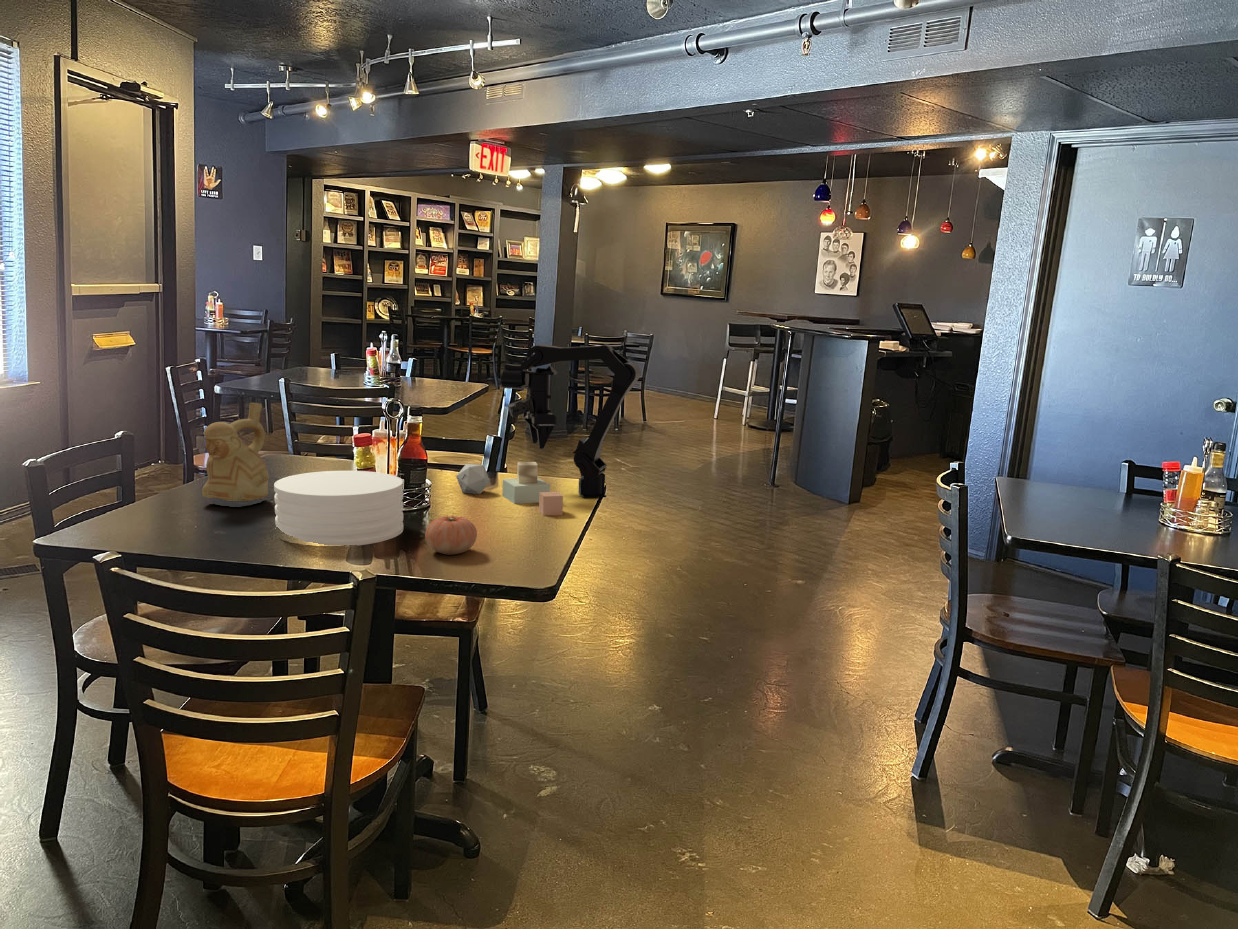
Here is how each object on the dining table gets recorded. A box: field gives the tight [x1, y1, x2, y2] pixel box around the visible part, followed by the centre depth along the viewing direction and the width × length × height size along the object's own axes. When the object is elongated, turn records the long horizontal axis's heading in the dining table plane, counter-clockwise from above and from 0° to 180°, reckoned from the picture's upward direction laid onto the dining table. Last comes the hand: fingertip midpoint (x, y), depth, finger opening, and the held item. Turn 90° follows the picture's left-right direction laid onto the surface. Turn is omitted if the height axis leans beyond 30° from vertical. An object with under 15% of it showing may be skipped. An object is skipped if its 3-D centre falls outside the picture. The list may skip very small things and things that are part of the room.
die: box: [455, 463, 491, 495], centre depth 254 cm, size 8×9×10 cm
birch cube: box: [516, 461, 539, 484], centre depth 248 cm, size 5×5×5 cm
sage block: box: [502, 477, 551, 505], centre depth 249 cm, size 10×10×5 cm
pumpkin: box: [424, 515, 478, 556], centre depth 195 cm, size 11×11×8 cm
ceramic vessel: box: [201, 402, 269, 501], centre depth 230 cm, size 17×20×25 cm
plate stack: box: [273, 470, 404, 546], centre depth 209 cm, size 28×28×12 cm
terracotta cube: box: [538, 491, 564, 516], centre depth 234 cm, size 5×5×5 cm
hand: (537, 445), depth 257 cm, fingers open, 9 cm apart
